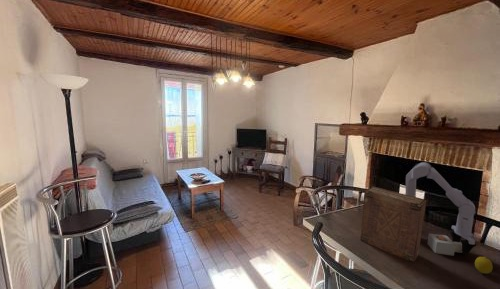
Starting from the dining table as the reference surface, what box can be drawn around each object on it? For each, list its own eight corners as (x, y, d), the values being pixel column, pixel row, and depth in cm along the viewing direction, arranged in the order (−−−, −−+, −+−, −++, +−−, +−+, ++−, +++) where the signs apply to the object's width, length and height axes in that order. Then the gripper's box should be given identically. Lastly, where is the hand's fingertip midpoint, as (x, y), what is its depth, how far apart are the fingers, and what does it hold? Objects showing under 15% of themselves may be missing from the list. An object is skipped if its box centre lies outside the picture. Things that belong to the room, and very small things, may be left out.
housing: (435, 253, 114) (436, 241, 113) (427, 243, 121) (428, 233, 120) (453, 255, 112) (455, 244, 111) (444, 246, 119) (446, 235, 118)
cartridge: (436, 251, 115) (437, 242, 114) (431, 245, 120) (432, 237, 119) (466, 255, 111) (468, 246, 111) (460, 249, 116) (461, 240, 115)
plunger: (439, 241, 115) (440, 238, 114) (436, 237, 117) (436, 235, 117) (446, 242, 114) (447, 239, 114) (443, 238, 117) (443, 236, 116)
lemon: (469, 269, 102) (472, 253, 101) (480, 268, 103) (483, 252, 102) (483, 278, 97) (486, 261, 96) (494, 277, 97) (498, 261, 96)
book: (359, 240, 125) (364, 189, 120) (366, 234, 131) (371, 185, 126) (413, 263, 106) (421, 204, 101) (418, 255, 112) (426, 199, 107)
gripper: (484, 233, 104) (480, 259, 106) (464, 218, 118) (460, 242, 120) (466, 231, 106) (462, 257, 108) (448, 217, 119) (445, 240, 122)
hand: (460, 249), depth 114 cm, fingers open, 7 cm apart
